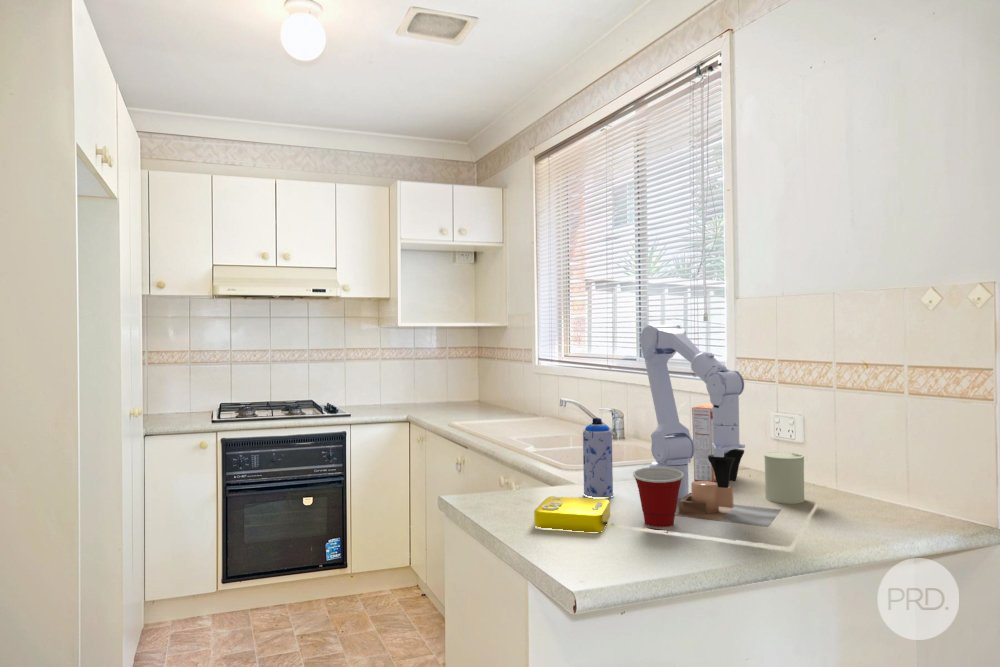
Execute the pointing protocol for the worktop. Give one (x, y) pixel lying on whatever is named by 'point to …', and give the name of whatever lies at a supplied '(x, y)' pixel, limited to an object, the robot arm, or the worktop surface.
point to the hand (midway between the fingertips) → (727, 484)
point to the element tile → (573, 514)
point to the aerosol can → (597, 460)
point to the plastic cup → (658, 494)
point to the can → (784, 477)
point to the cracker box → (703, 442)
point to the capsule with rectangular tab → (712, 495)
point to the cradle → (728, 513)
